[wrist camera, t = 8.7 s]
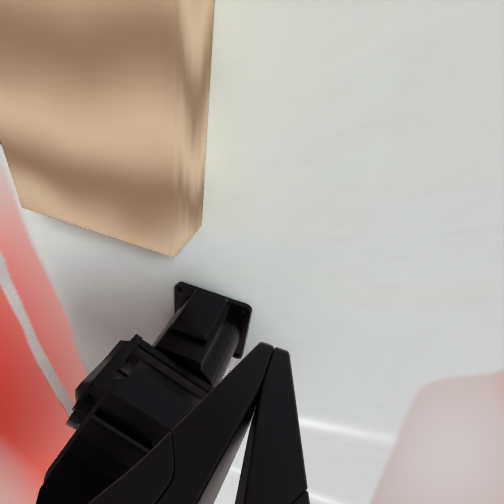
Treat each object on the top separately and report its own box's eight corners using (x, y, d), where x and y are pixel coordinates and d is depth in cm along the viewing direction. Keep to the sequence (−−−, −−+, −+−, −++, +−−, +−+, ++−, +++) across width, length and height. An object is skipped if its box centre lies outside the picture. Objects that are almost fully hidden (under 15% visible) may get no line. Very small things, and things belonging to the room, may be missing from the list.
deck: (201, 225, 23) (173, 257, 20) (67, 184, 25) (22, 207, 22) (230, -281, 11) (169, -405, 8) (-35, -288, 13) (-171, -391, 10)
